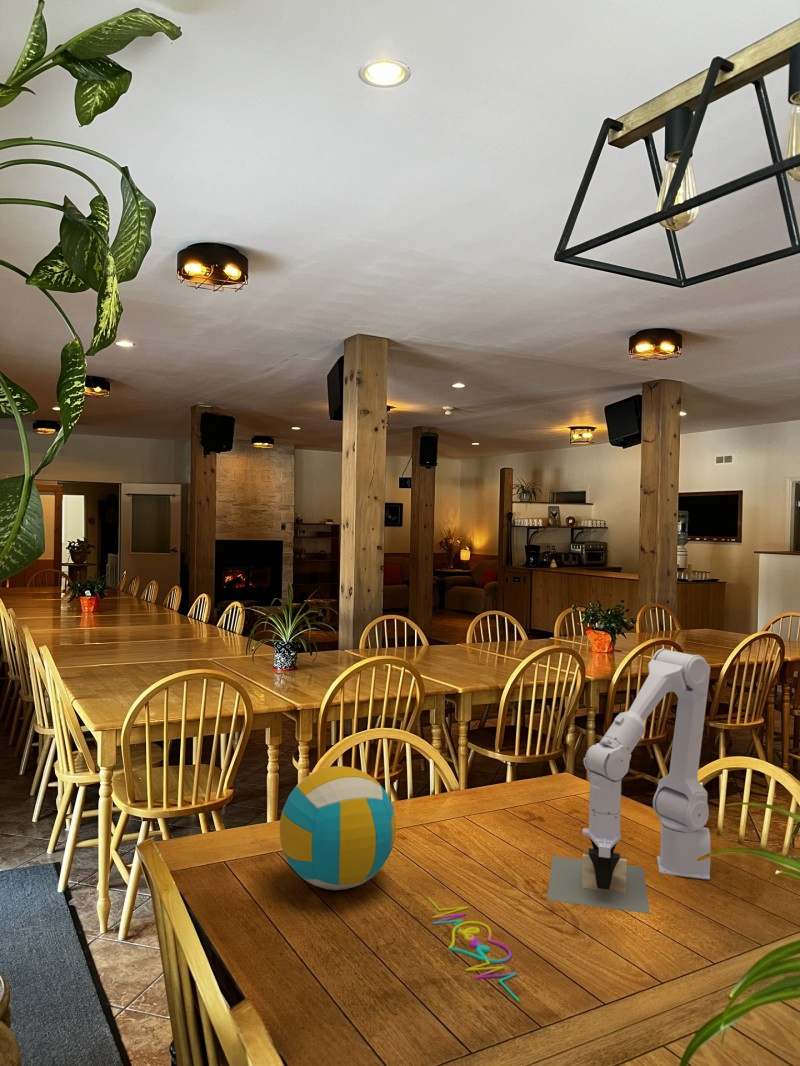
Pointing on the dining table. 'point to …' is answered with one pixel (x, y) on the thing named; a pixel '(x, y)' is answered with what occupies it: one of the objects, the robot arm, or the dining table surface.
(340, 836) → the volleyball
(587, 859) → the tile
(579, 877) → the mat
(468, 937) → the decorative art
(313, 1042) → the dining table surface
